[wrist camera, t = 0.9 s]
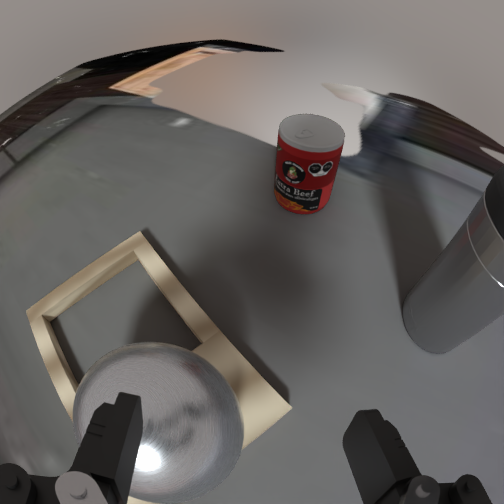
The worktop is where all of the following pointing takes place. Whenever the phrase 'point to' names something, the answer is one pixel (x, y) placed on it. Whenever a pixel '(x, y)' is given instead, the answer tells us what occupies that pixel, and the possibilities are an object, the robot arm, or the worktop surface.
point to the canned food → (307, 162)
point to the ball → (169, 418)
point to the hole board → (213, 340)
